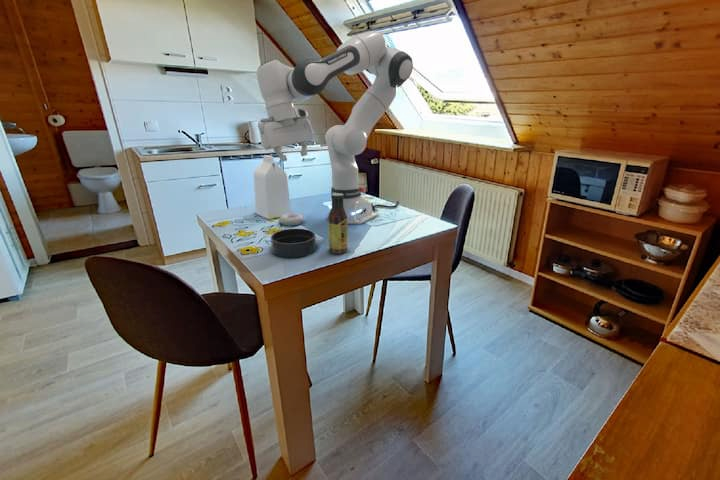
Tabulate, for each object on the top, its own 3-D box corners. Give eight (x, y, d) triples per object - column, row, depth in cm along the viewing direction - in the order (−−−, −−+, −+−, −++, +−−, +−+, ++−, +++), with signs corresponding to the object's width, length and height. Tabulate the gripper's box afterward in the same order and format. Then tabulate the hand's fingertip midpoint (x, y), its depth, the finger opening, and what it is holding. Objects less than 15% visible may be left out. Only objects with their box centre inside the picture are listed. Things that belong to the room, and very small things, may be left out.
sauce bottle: (344, 255, 115) (344, 197, 108) (326, 254, 116) (325, 196, 109) (349, 248, 121) (349, 192, 114) (332, 246, 122) (330, 191, 115)
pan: (298, 238, 129) (298, 225, 128) (324, 249, 120) (323, 235, 118) (263, 249, 119) (262, 235, 118) (288, 262, 110) (287, 247, 108)
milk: (255, 213, 159) (249, 155, 149) (278, 208, 166) (273, 153, 156) (268, 219, 150) (262, 158, 141) (291, 214, 158) (287, 156, 148)
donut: (304, 219, 151) (281, 219, 150) (304, 212, 150) (280, 211, 149) (302, 227, 142) (278, 227, 141) (302, 219, 140) (277, 219, 140)
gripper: (262, 116, 102) (276, 163, 106) (310, 110, 117) (321, 151, 121) (250, 121, 106) (264, 166, 110) (298, 115, 121) (309, 154, 125)
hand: (294, 158), depth 115 cm, fingers open, 8 cm apart
